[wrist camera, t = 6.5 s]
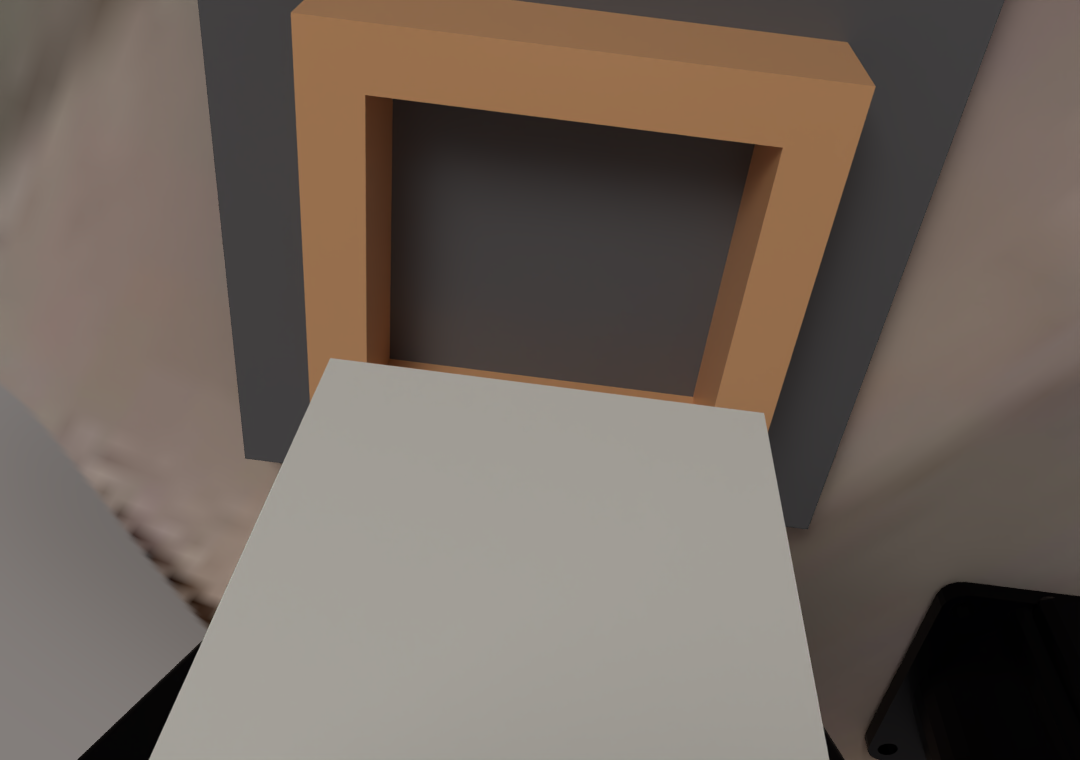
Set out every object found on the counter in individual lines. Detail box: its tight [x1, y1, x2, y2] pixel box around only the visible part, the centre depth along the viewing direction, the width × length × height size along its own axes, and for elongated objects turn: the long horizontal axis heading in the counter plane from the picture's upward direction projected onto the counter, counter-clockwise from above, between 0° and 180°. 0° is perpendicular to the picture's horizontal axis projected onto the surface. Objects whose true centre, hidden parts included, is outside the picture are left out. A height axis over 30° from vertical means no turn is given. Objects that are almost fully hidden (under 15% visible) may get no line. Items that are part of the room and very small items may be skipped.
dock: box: [198, 0, 1004, 529], centre depth 16 cm, size 12×12×3 cm
